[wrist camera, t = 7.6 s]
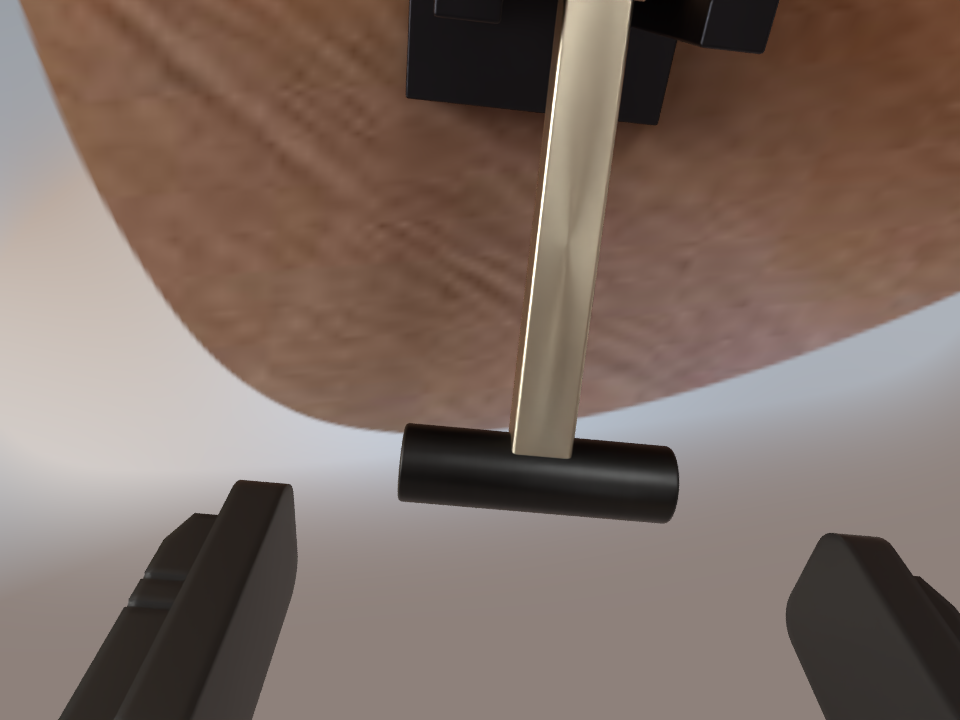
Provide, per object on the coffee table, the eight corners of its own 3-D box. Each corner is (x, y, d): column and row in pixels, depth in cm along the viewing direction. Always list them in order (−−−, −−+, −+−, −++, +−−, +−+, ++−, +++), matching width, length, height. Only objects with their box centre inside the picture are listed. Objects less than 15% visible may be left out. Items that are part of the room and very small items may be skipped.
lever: (643, 493, 13) (681, 550, 11) (405, 473, 13) (392, 526, 11) (751, -166, 11) (828, -272, 9) (459, -204, 11) (458, -324, 8)
